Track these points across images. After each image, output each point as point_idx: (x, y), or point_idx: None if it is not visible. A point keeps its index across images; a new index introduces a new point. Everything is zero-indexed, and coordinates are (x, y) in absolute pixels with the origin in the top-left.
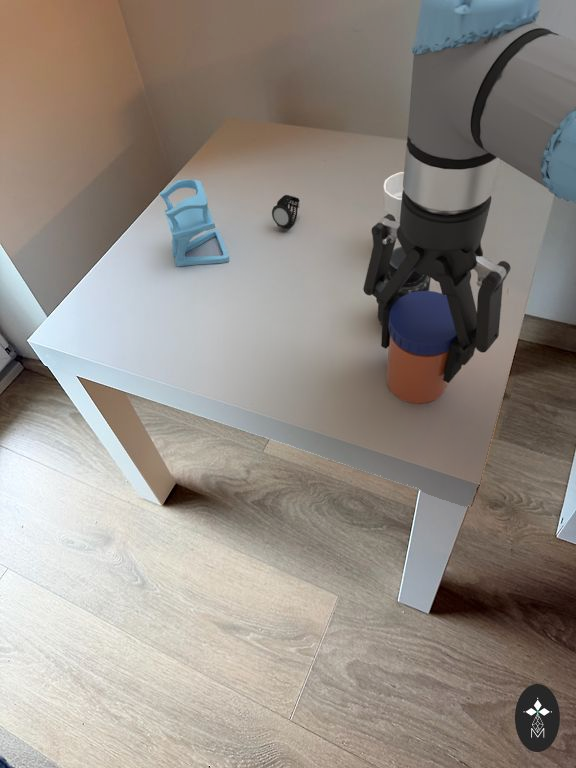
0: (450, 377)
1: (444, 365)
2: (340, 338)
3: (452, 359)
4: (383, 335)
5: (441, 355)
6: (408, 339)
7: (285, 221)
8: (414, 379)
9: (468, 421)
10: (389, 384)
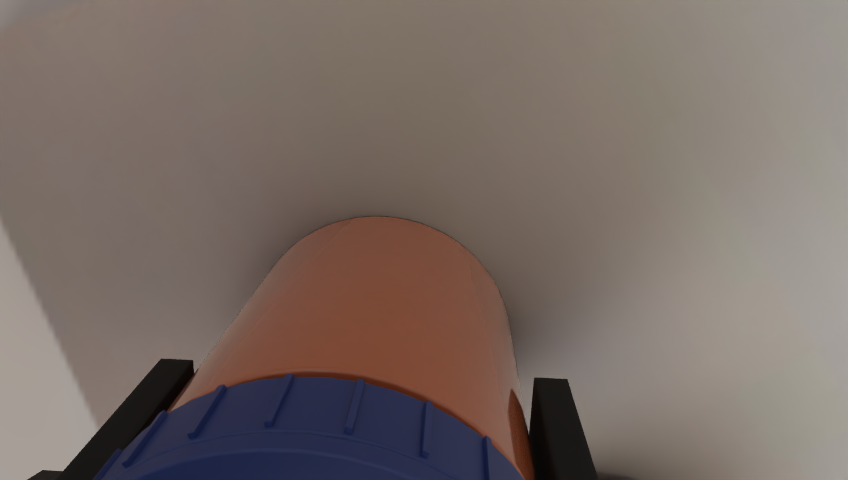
0: (144, 384)
1: None
2: (788, 347)
3: (75, 470)
4: (570, 430)
5: None
6: (266, 452)
7: None
8: (293, 286)
9: (101, 274)
10: (447, 244)
